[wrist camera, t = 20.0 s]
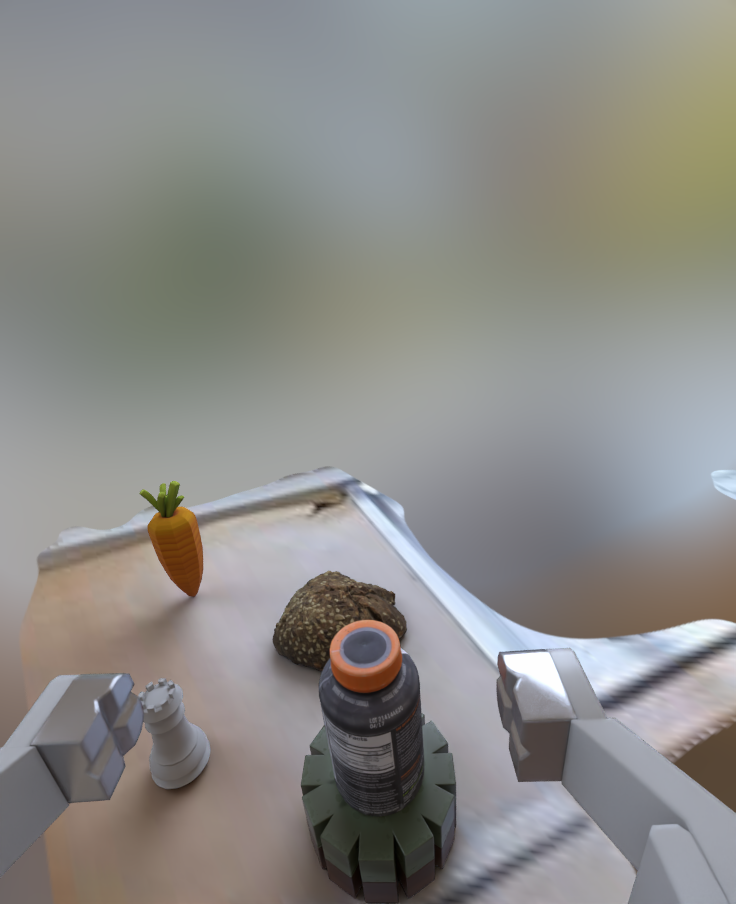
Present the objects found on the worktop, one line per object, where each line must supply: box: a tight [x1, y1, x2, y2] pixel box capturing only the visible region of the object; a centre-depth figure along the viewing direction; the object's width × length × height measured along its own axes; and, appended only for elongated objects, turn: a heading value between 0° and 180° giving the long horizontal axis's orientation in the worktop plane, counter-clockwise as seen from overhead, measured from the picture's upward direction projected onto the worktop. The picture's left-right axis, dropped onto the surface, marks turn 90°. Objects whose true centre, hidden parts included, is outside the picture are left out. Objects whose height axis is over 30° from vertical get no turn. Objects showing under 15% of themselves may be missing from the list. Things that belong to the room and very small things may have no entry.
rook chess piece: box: [138, 678, 211, 789], centre depth 36 cm, size 4×4×8 cm
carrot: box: [140, 481, 203, 597], centre depth 52 cm, size 5×5×15 cm
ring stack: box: [301, 713, 456, 903], centre depth 32 cm, size 10×10×5 cm
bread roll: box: [273, 571, 407, 671], centre depth 48 cm, size 13×12×5 cm
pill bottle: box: [319, 620, 424, 817], centre depth 29 cm, size 6×6×11 cm
